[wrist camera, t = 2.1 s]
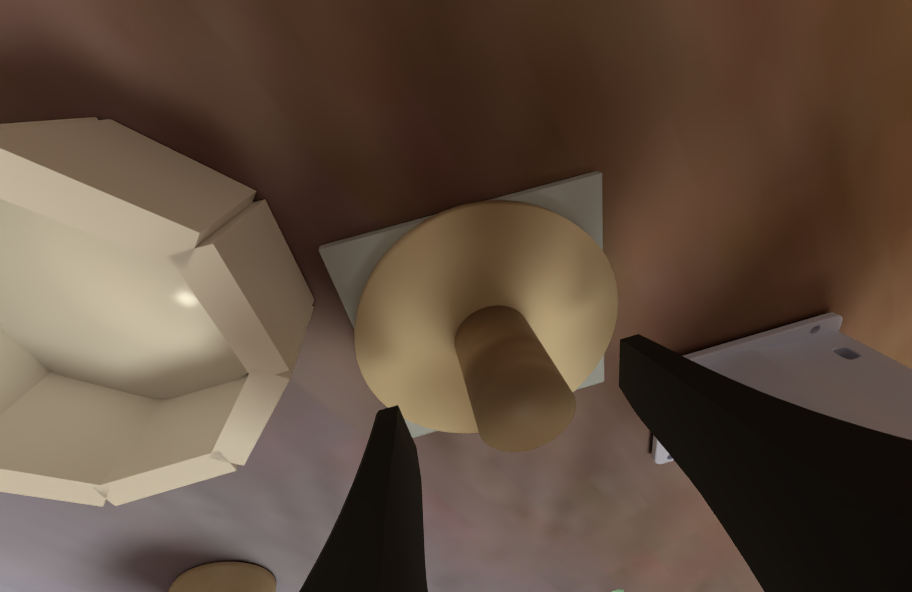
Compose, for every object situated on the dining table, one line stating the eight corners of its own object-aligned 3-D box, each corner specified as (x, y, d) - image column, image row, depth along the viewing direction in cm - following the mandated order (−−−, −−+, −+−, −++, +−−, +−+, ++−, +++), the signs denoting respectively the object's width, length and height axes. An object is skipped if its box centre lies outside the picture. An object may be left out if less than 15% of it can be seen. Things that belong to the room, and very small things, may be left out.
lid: (607, 165, 12) (718, 199, 8) (607, 383, 18) (676, 471, 13) (310, 245, 12) (270, 323, 8) (400, 444, 17) (406, 554, 13)
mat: (596, 170, 13) (602, 173, 12) (599, 376, 18) (604, 381, 18) (320, 245, 12) (318, 249, 12) (403, 433, 17) (404, 440, 17)
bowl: (210, 88, 10) (116, 84, 6) (345, 362, 15) (333, 442, 11) (-168, 182, 9) (-485, 232, 6) (101, 431, 14) (13, 535, 11)
